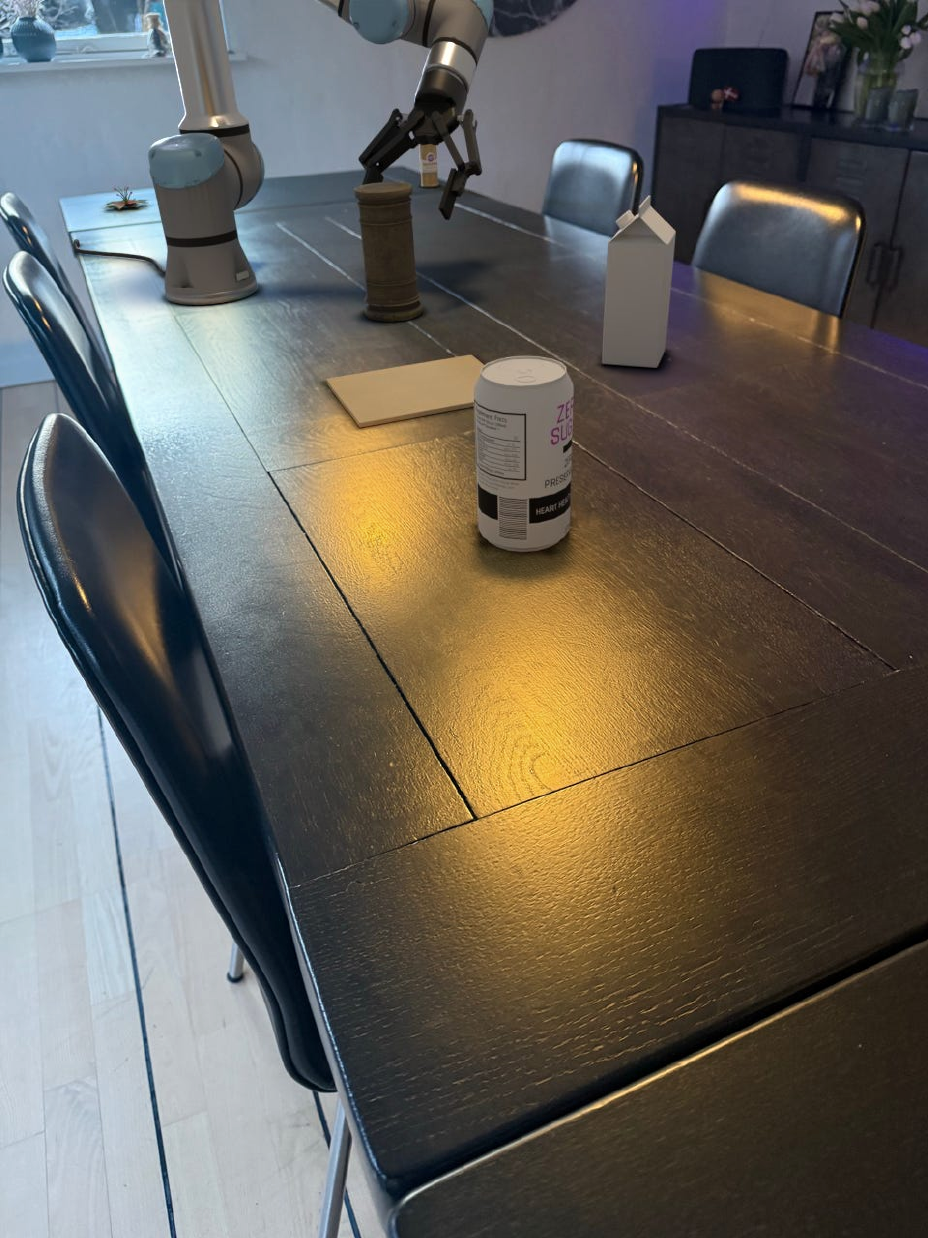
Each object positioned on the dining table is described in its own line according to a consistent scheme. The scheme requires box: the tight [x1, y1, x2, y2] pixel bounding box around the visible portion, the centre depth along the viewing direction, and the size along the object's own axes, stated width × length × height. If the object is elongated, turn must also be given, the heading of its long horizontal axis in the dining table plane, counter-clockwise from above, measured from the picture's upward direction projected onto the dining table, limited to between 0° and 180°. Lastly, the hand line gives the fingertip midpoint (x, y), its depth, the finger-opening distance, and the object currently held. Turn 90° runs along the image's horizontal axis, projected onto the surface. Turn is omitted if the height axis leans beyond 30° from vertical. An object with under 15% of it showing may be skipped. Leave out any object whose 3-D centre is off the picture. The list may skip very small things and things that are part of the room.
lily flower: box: [102, 186, 148, 210], centre depth 222 cm, size 12×12×5 cm
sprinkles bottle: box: [418, 144, 439, 189], centre depth 226 cm, size 5×5×13 cm
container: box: [353, 181, 424, 323], centre depth 133 cm, size 9×9×18 cm
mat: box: [325, 354, 485, 429], centre depth 111 cm, size 16×20×1 cm
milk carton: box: [601, 195, 677, 369], centre depth 112 cm, size 7×7×19 cm
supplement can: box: [473, 355, 575, 553], centre depth 77 cm, size 8×8×15 cm
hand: (403, 212), depth 134 cm, fingers open, 13 cm apart
